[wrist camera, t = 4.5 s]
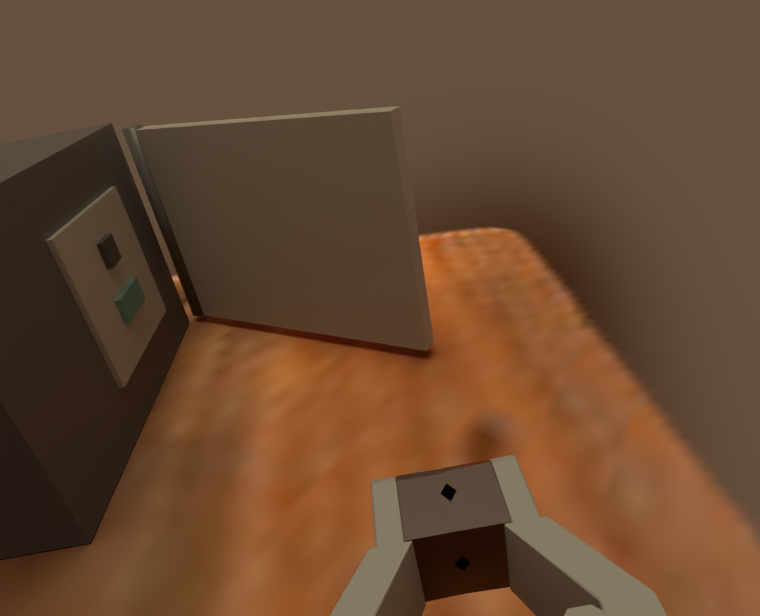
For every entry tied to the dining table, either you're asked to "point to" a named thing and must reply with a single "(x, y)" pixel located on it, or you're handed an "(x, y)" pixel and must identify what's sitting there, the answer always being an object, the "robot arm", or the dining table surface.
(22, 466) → the box
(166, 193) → the side door
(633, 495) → the dining table surface
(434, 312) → the dining table surface
